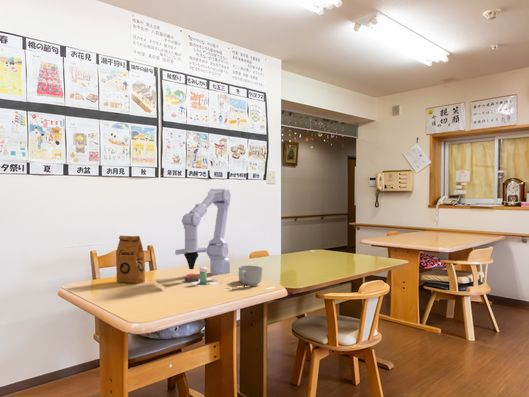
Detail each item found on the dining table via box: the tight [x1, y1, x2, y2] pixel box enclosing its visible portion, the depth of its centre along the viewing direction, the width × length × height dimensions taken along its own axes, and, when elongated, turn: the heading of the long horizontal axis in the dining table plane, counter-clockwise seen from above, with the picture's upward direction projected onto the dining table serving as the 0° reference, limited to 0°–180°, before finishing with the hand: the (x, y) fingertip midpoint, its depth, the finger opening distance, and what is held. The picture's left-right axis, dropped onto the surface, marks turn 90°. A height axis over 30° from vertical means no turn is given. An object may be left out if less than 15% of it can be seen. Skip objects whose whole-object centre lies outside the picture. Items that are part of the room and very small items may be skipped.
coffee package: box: [115, 235, 146, 285], centre depth 182 cm, size 10×12×22 cm
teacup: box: [238, 264, 264, 287], centre depth 175 cm, size 14×11×8 cm
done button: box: [186, 272, 197, 279], centre depth 178 cm, size 3×3×2 cm
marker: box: [199, 266, 208, 284], centre depth 172 cm, size 3×3×7 cm
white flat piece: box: [184, 276, 223, 287], centre depth 177 cm, size 13×15×3 cm
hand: (191, 269), depth 178 cm, fingers closed
